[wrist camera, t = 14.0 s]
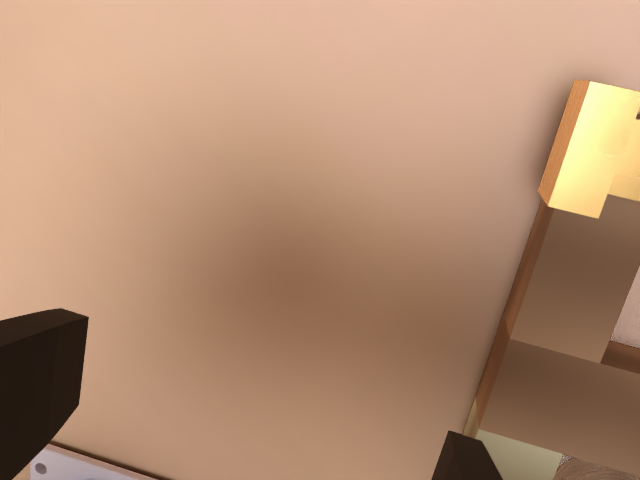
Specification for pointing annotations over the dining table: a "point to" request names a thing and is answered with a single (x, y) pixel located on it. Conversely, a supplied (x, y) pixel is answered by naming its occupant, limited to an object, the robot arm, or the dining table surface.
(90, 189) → the dining table surface
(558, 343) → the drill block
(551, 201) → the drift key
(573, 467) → the frosted round dowel plug
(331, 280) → the dining table surface
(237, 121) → the dining table surface
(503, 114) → the dining table surface
